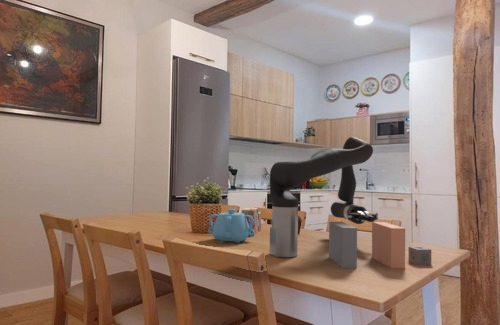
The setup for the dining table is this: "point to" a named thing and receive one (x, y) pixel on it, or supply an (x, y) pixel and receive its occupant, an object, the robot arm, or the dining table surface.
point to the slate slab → (343, 244)
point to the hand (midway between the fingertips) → (371, 219)
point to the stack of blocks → (256, 217)
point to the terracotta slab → (388, 244)
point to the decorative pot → (231, 226)
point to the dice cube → (419, 255)
